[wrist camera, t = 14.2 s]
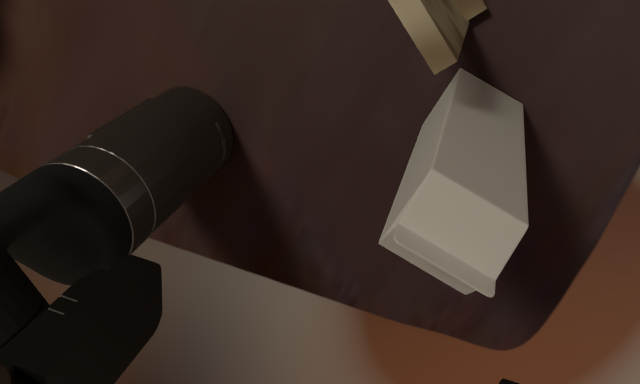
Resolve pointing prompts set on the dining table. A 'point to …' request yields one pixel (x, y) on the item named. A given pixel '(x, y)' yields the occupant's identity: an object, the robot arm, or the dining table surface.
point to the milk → (463, 188)
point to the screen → (438, 27)
